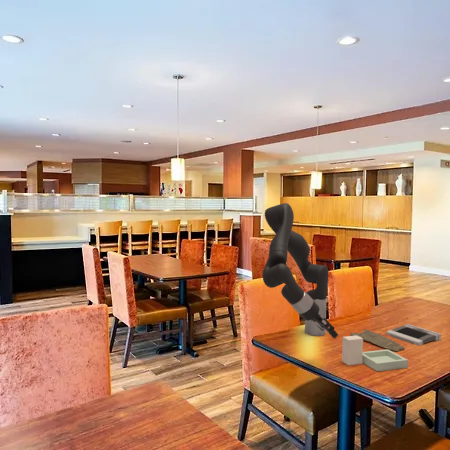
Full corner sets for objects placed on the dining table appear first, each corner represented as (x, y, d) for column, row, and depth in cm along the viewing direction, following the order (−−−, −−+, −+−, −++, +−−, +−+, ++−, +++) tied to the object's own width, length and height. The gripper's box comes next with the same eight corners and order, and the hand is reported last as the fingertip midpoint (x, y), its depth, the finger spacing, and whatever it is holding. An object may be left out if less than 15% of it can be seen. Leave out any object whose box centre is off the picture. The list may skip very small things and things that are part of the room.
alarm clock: (441, 333, 184) (419, 336, 176) (440, 343, 184) (418, 346, 176) (408, 324, 199) (386, 326, 191) (407, 333, 199) (385, 335, 191)
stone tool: (348, 336, 189) (392, 354, 167) (349, 330, 189) (393, 347, 167) (365, 333, 194) (410, 350, 172) (365, 327, 194) (410, 343, 172)
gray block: (342, 361, 157) (342, 336, 157) (356, 359, 159) (356, 335, 159) (347, 365, 154) (348, 340, 153) (362, 363, 155) (363, 338, 155)
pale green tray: (358, 359, 159) (358, 352, 159) (387, 356, 163) (387, 349, 163) (376, 371, 148) (377, 363, 148) (407, 367, 152) (407, 359, 152)
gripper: (289, 307, 155) (314, 333, 159) (306, 318, 141) (333, 346, 145) (302, 293, 156) (326, 320, 160) (320, 302, 143) (347, 331, 147)
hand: (330, 332), depth 153 cm, fingers open, 8 cm apart
